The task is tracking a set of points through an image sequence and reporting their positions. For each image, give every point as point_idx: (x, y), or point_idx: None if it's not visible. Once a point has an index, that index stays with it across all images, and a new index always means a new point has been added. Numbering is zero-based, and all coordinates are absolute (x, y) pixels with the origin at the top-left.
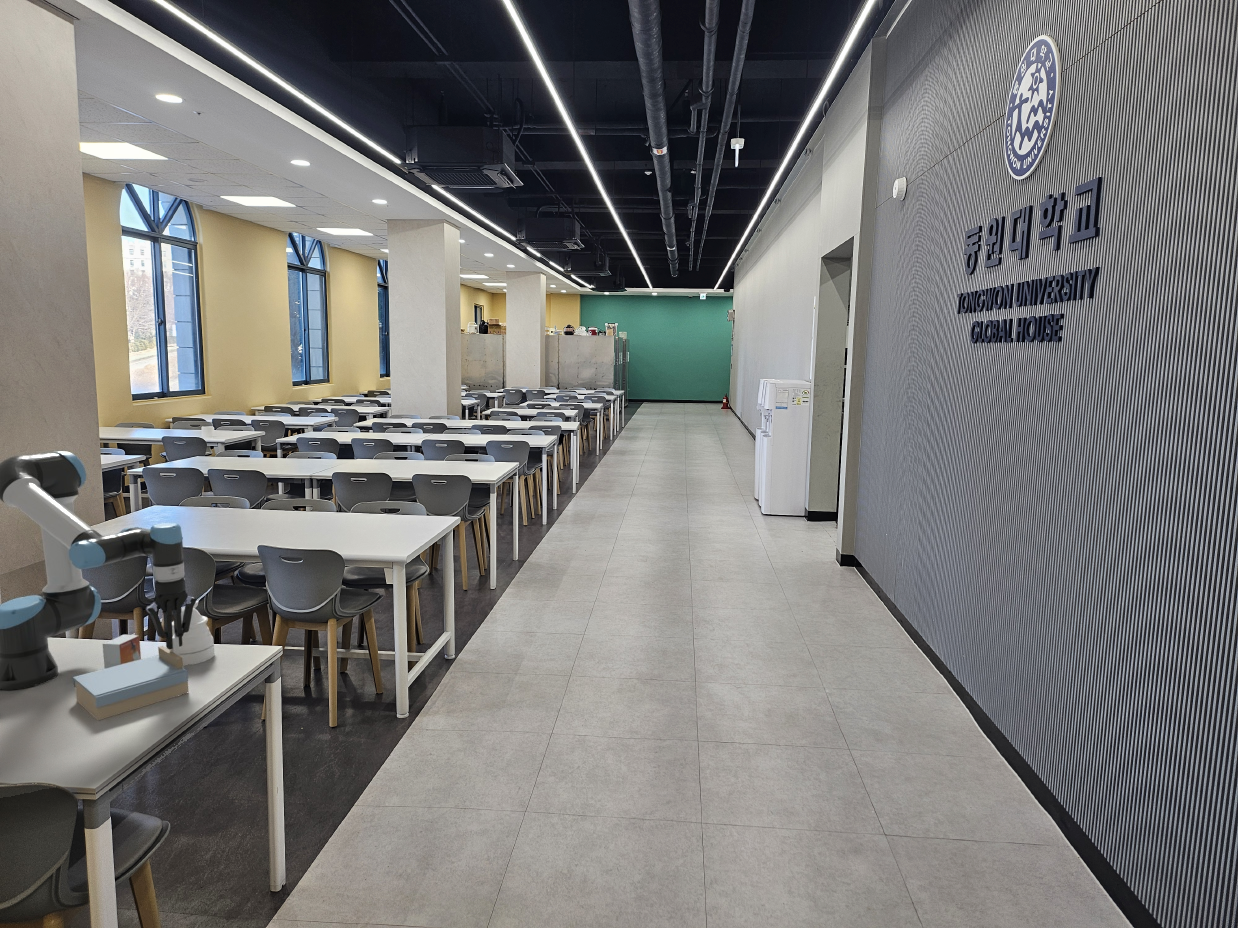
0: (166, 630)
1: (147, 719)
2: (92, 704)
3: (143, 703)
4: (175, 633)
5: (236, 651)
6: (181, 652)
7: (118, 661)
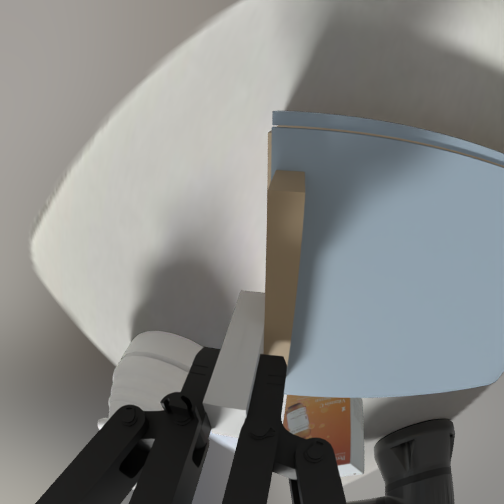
0: (269, 486)
1: (465, 38)
2: None
3: (444, 148)
4: (207, 437)
5: (90, 318)
6: None
7: (353, 420)
